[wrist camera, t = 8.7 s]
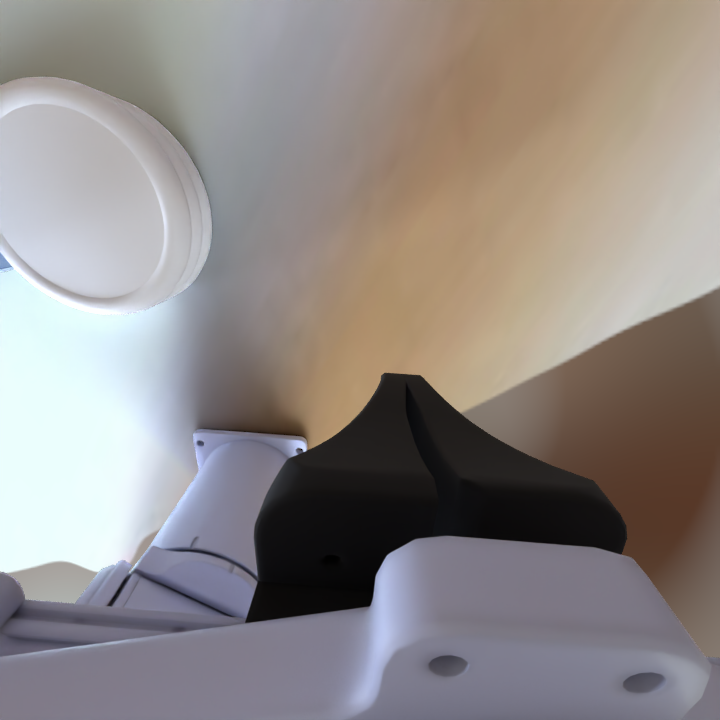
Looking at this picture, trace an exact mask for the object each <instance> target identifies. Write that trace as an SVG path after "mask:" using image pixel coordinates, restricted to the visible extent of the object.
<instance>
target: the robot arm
mask: <svg viewBox="0 0 720 720" xmlns="http://www.w3.org/2000/svg"><path fill="white" fill-rule="evenodd" d="M193 440H194V446H195V451H196V457H197V462H198V468H199V472H198V474H197V475H196V477H195V478H194V480H193V481H192V483H191V484H190V486H189V487H188V489H187V490H186V492H185V493H184V495H183V496H182V498H181V499H180V501H179V502H178V504H177V505H176V507H175V508H174V510H173V511H172V513H171V514H170V516H169V517H168V519H167V520H166V522H165V523H164V525H163V526H162V528H161V529H160V531H159V533H158V534H157V536H156V537H155V539H154V540H153V542H152V543H151V545H150V546H149V548H148V549H147V551H146V552H145V553H144V555H143V556H142V557H141V559H140V560H139V561H138V562H137V564H136V565H135V566H134V567H133V569H132V570H131V572H129V570H130V569H131V567H132V565H131V564H129V563H128V562H126V561H125V560H121V561H119V562H118V563H117V564H116V565H111V566H108V567H105V568H103V569H101V570H100V571H99V573H98V574H97V575H96V577H95V578H94V579H93V580H92V582H91V583H90V584H89V586H88V587H87V588H86V589H85V591H84V592H83V593H82V595H81V596H80V597H79V599H78V600H77V601H76V603H75V604H73V603H62V602H50V601H38V600H26V599H25V595H24V592H23V589H22V587H21V585H20V583H19V582H18V581H17V580H16V579H15V578H14V577H12V576H10V575H9V574H7V573H4V572H0V720H720V658H715V657H705V656H704V654H703V653H702V651H701V650H700V649H699V647H698V646H697V645H696V643H695V642H694V640H693V639H692V637H691V636H690V635H689V633H688V632H687V631H686V629H685V628H684V626H683V625H682V624H681V622H680V621H679V619H678V618H677V617H676V615H675V614H674V613H673V611H672V610H671V608H670V607H669V606H668V604H667V603H666V601H665V600H664V599H663V597H662V596H661V594H660V593H659V592H658V590H657V589H656V587H655V586H654V585H653V583H652V582H651V581H650V579H649V578H648V576H647V575H646V574H645V573H644V571H643V570H642V569H641V568H640V567H639V566H638V565H637V563H636V562H635V561H634V560H633V558H631V557H627V556H623V555H621V554H622V551H623V549H624V546H625V543H626V540H627V531H626V525H625V523H624V521H623V519H622V517H621V515H620V513H619V512H618V511H617V510H616V508H615V507H614V506H613V504H612V503H611V502H610V501H609V499H608V498H607V497H606V495H605V494H604V493H603V492H602V490H601V489H600V488H599V486H598V485H597V484H596V483H595V482H594V481H593V480H590V479H588V478H585V477H582V476H579V475H576V474H574V473H571V472H568V471H565V470H562V469H560V468H557V467H554V466H552V465H549V464H547V463H545V462H542V461H540V460H538V459H536V458H533V457H531V456H529V455H527V454H525V453H523V452H521V451H519V450H516V449H514V448H513V447H511V446H509V445H507V444H505V443H504V442H502V441H500V440H498V439H496V438H495V437H493V436H491V435H490V434H488V433H487V432H485V431H484V430H482V429H481V428H479V427H478V426H476V425H475V424H473V423H472V422H471V421H469V420H468V419H466V418H465V417H464V416H463V415H462V414H460V413H459V412H458V411H457V410H456V409H454V408H453V407H452V406H451V405H450V404H449V403H448V402H447V401H445V400H444V399H443V398H442V397H441V396H440V395H439V394H438V393H437V392H436V391H435V390H434V389H433V388H432V387H431V386H430V385H429V384H428V382H427V381H426V380H425V379H424V378H423V377H422V376H421V375H408V374H394V373H384V374H383V375H381V381H380V384H379V386H378V388H377V390H376V391H375V393H374V395H373V396H372V398H371V399H370V401H369V402H368V403H367V405H366V406H365V407H364V409H363V410H362V411H361V412H360V413H359V414H358V416H357V417H356V418H355V419H354V420H353V421H352V422H351V423H350V424H348V425H347V426H346V427H345V428H344V429H342V430H341V431H340V432H339V433H337V434H336V435H335V436H333V437H332V438H330V439H329V440H327V441H325V442H323V443H322V444H320V445H318V446H316V447H314V448H312V449H310V450H307V440H306V439H305V438H304V437H301V436H289V435H276V434H262V433H249V432H236V431H222V430H209V429H198V430H196V431H195V433H194V434H193ZM201 441H203V442H204V443H202V442H201ZM297 448H301V449H302V450H298V449H297Z"/></svg>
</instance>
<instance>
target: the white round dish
mask: <svg viewBox="0 0 720 720" xmlns="http://www.w3.org/2000/svg"><path fill="white" fill-rule="evenodd" d="M211 240H212V216H211V209H210V204H209V199H208V196H207V192H206V189H205V186H204V183H203V181H202V179H201V177H200V174H199V172H198V170H197V168H196V167H195V165H194V163H193V161H192V160H191V158H190V156H189V155H188V154H187V152H186V151H185V149H184V148H183V147H182V145H181V144H180V143H179V142H178V141H177V140H176V138H175V137H174V136H173V135H172V134H171V133H170V132H169V131H168V130H167V129H166V128H165V127H164V126H163V125H162V124H161V123H159V122H158V121H157V120H156V119H155V118H153V117H152V116H151V115H149V114H148V113H146V112H145V111H143V110H142V109H140V108H138V107H136V106H135V105H133V104H131V103H129V102H126V101H124V100H121V99H119V98H116V97H114V96H111V95H109V94H106V93H104V92H101V91H99V90H95V89H94V88H91V87H89V86H86V85H84V84H81V83H78V82H75V81H71V80H67V79H63V78H56V77H47V76H45V77H24V78H20V79H15V80H11V81H9V82H7V83H4V84H2V85H0V253H1V254H2V255H3V256H4V257H5V259H6V260H7V261H8V262H9V263H10V264H11V266H12V267H13V268H14V269H15V270H17V271H18V272H19V273H20V274H21V275H22V276H23V277H24V278H25V279H26V280H28V281H29V282H30V283H31V284H32V285H34V286H35V287H36V288H38V289H39V290H41V291H42V292H44V293H45V294H47V295H48V296H50V297H52V298H54V299H56V300H57V301H59V302H61V303H64V304H66V305H68V306H70V307H73V308H76V309H79V310H82V311H87V312H91V313H96V314H105V315H124V314H131V313H136V312H140V311H143V310H146V309H148V308H150V307H153V306H155V305H156V304H159V303H161V302H163V301H165V300H167V299H170V298H172V297H174V296H176V295H178V294H179V293H181V292H182V291H184V290H185V289H187V288H188V287H189V286H190V285H191V284H192V283H193V282H194V280H195V279H196V278H197V276H198V275H199V274H200V272H201V270H202V268H203V266H204V264H205V262H206V260H207V257H208V254H209V251H210V245H211Z"/></svg>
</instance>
